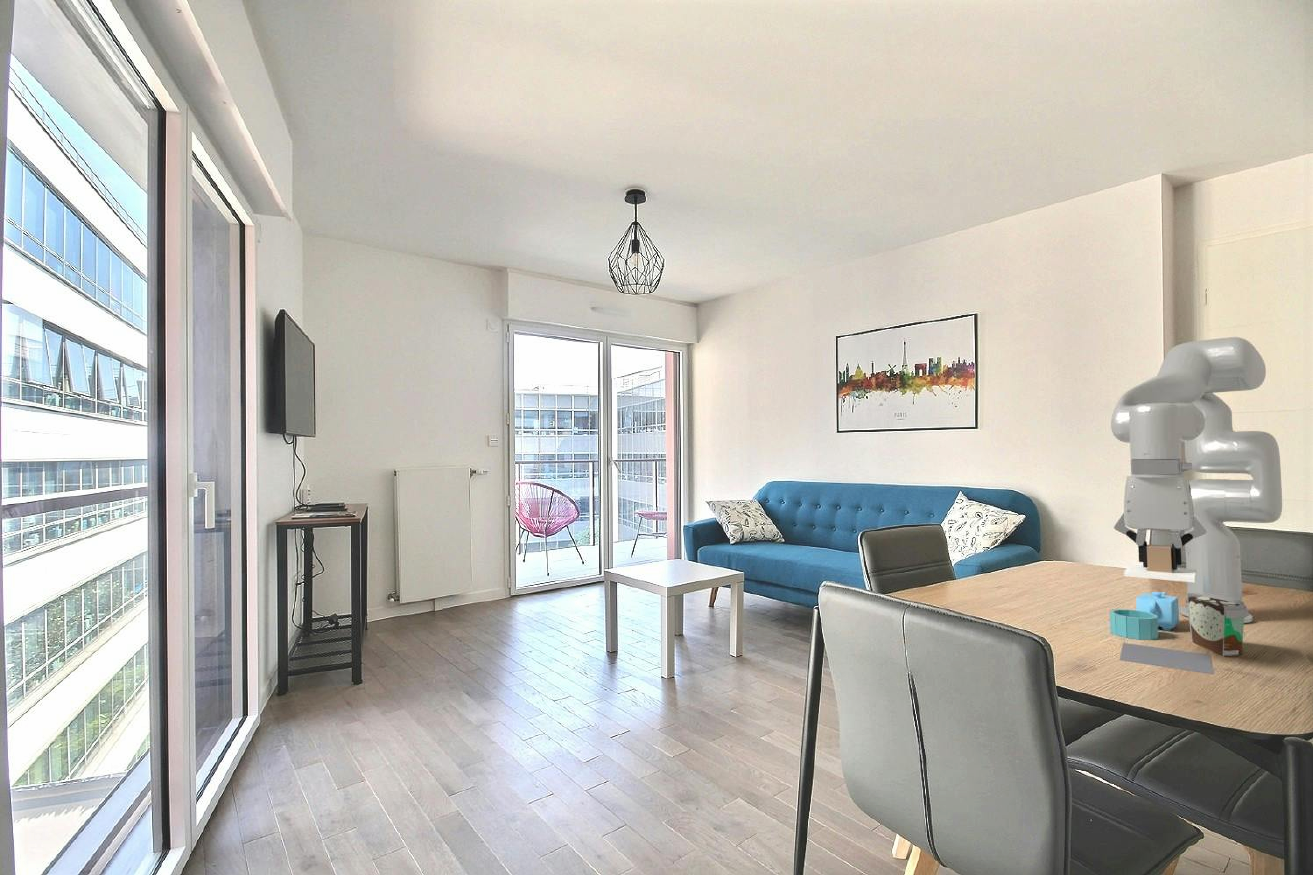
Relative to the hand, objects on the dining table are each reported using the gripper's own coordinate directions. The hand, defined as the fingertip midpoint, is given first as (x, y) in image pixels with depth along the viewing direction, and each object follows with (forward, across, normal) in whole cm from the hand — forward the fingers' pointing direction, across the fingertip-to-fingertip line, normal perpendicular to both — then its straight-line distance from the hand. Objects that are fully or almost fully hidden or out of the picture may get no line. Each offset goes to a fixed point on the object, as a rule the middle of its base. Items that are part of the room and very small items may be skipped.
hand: (1160, 566), depth 118 cm
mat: (+17, 0, +1) cm, 17 cm away
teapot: (+17, +2, -27) cm, 32 cm away
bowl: (+17, +6, -14) cm, 23 cm away
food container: (+17, -8, -12) cm, 23 cm away
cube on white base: (+2, 0, 0) cm, 2 cm away
